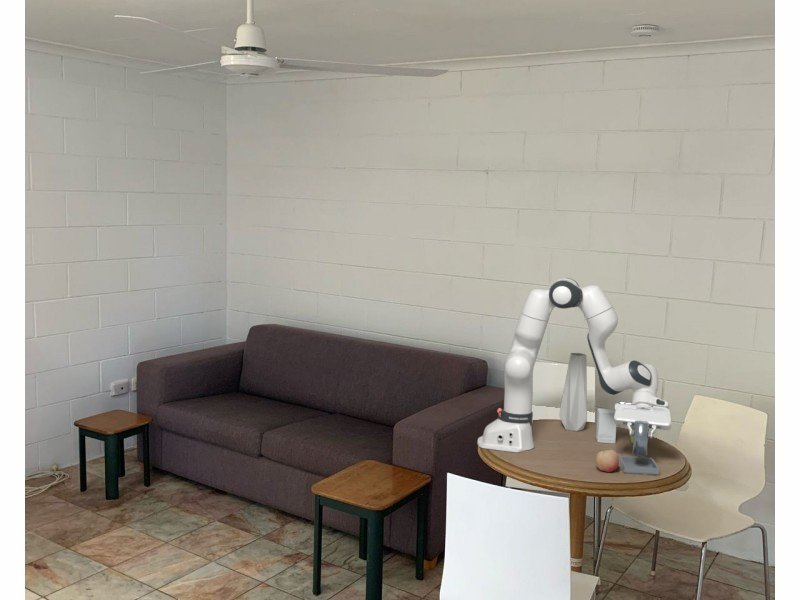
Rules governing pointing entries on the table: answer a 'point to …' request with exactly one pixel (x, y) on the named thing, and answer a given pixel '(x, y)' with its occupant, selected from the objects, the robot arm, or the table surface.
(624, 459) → the tray
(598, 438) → the supplement box
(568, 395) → the vase
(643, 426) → the canister
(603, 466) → the fruit
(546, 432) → the table surface
